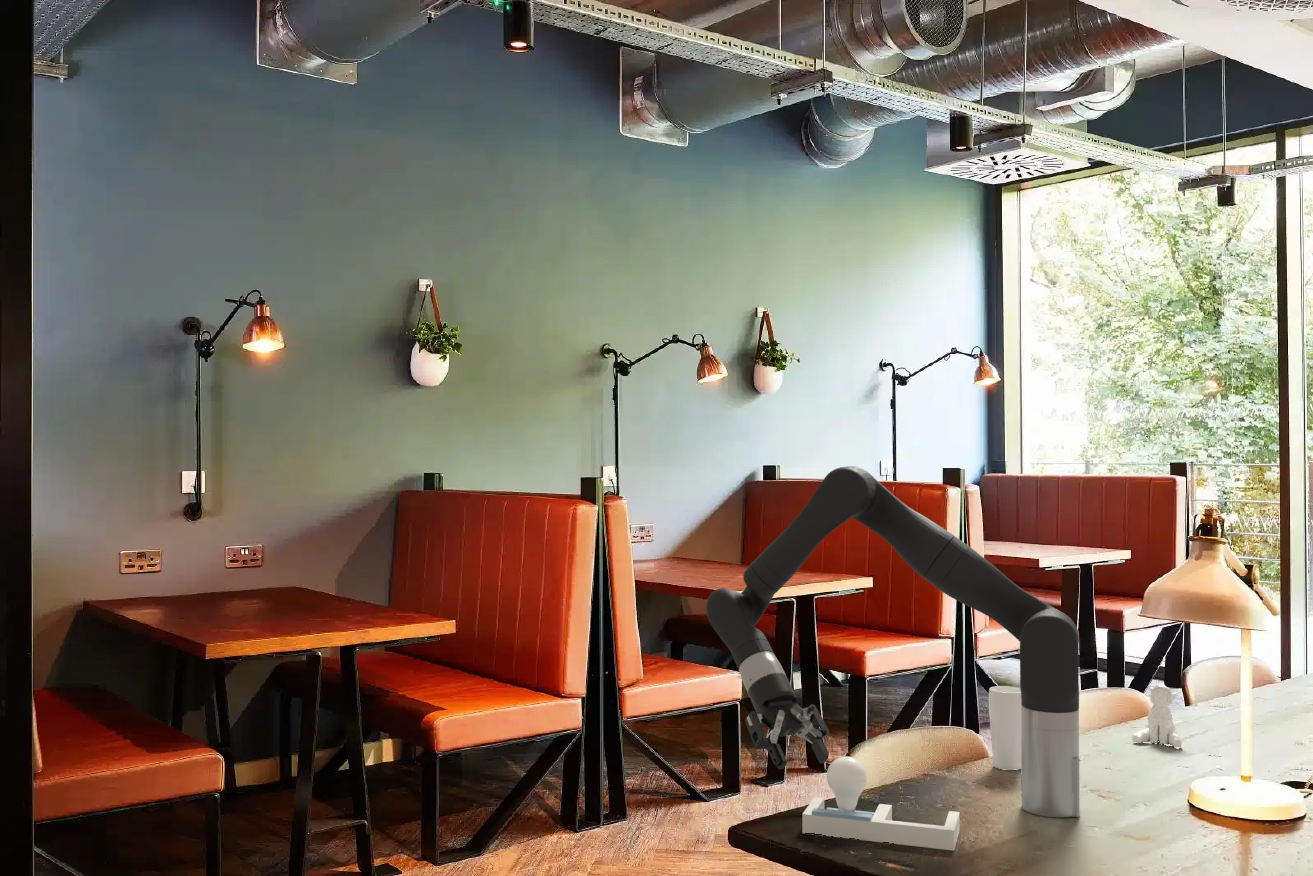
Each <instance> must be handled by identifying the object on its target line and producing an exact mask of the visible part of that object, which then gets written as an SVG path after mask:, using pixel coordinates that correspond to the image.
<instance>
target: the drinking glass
mask: <svg viewBox="0 0 1313 876" xmlns="http://www.w3.org/2000/svg"><path fill="white" fill-rule="evenodd" d="M988 716H989V727H990V728H989V729H990V736H991V737H990V739H991V750H992V766H993V767H994V768H995V769H997V768H998V769H997V770H1000V769H1007V770H1014V769H1019V770H1021V689H1020V687H1019V686H1018V687H1017V686H1011V685H1010V686H1008V685H997V686H991V687H989V689H988Z"/></svg>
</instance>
